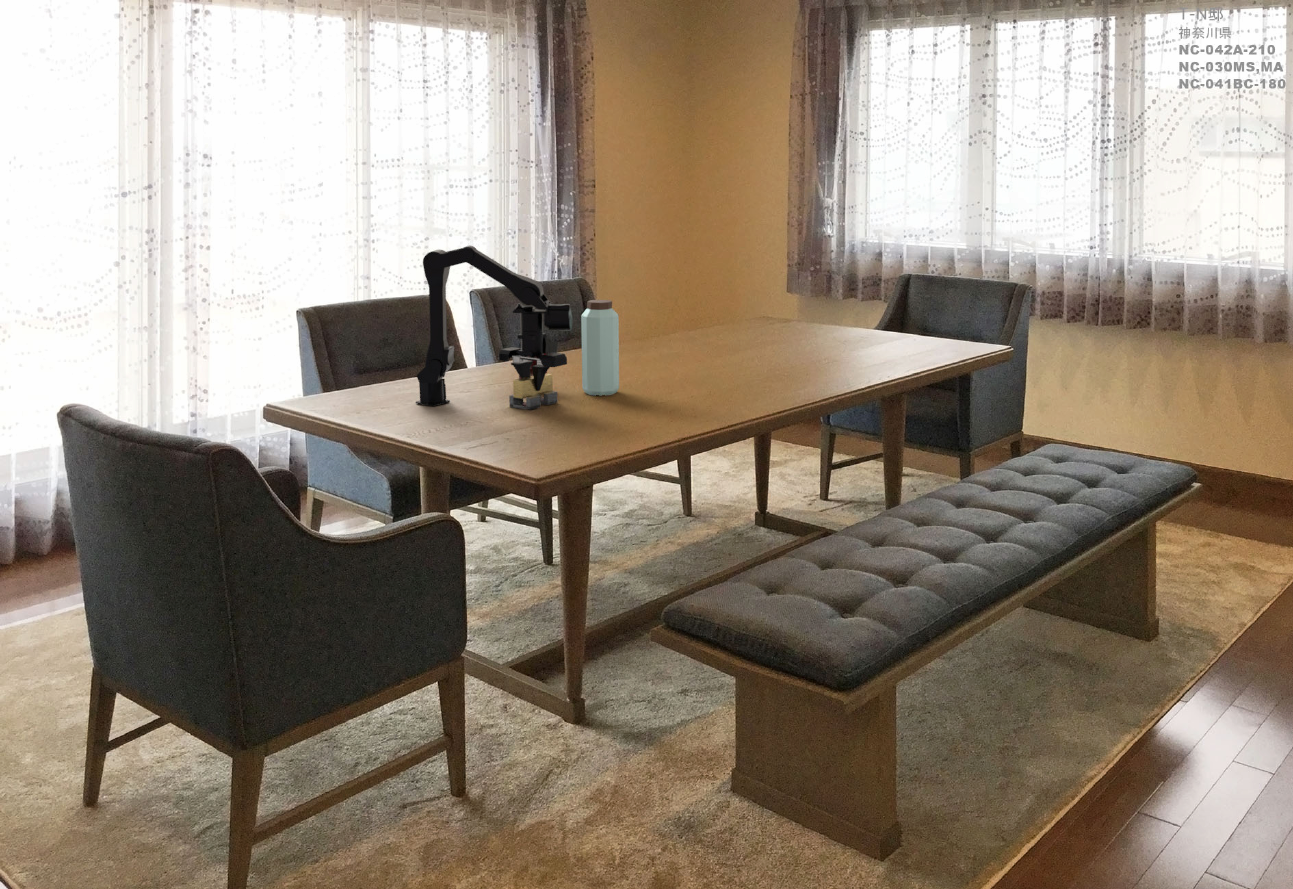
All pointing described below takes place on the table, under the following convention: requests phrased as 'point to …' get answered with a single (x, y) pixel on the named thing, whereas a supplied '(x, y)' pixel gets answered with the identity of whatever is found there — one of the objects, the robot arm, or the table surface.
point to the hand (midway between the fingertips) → (533, 389)
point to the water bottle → (600, 348)
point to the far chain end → (548, 398)
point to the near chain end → (528, 405)
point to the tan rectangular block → (531, 386)
